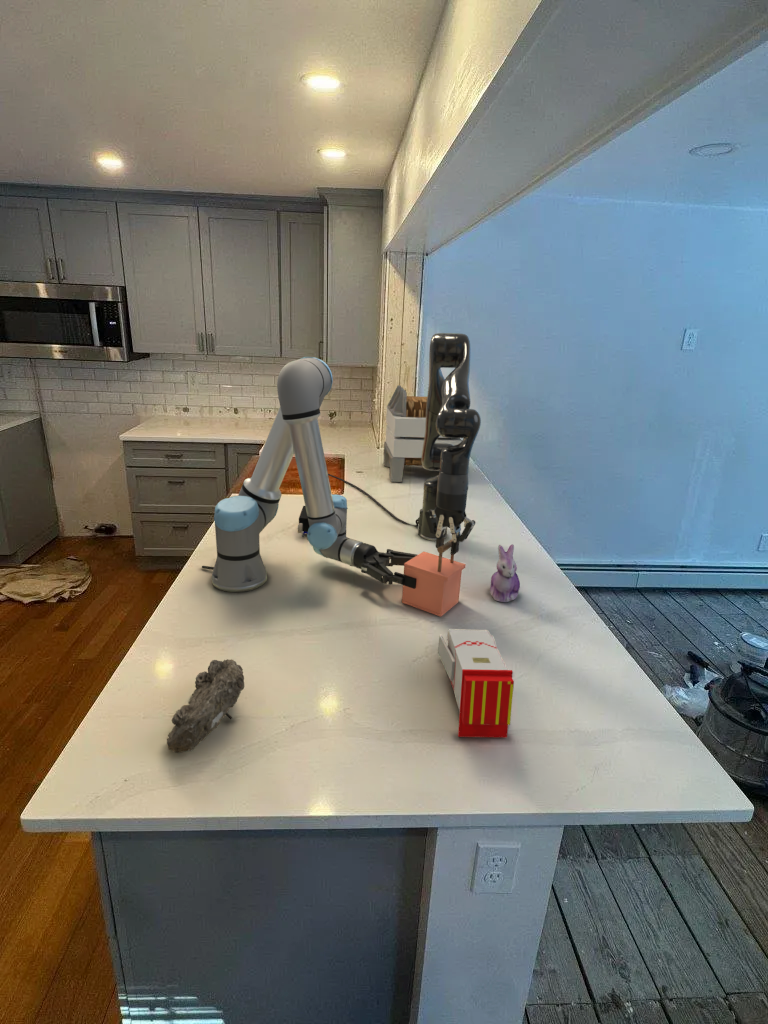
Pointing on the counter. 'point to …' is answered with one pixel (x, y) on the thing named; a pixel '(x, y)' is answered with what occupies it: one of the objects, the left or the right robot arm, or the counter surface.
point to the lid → (436, 564)
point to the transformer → (406, 433)
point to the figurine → (505, 577)
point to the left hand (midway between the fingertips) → (425, 576)
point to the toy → (478, 682)
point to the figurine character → (303, 522)
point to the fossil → (206, 705)
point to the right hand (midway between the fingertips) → (446, 551)
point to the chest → (432, 592)
